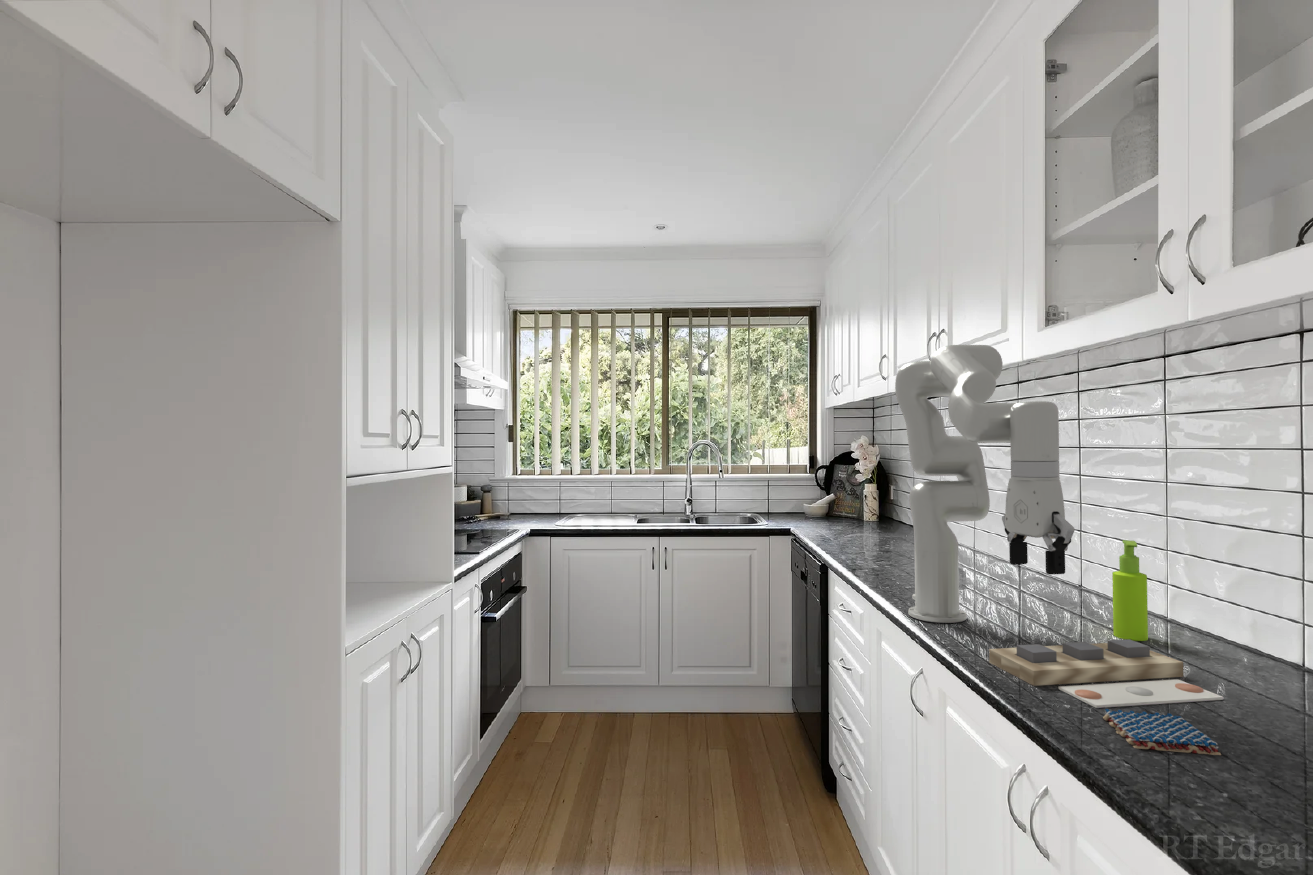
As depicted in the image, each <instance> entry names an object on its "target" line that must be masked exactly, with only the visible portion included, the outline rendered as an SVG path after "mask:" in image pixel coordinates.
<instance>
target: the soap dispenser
mask: <svg viewBox="0 0 1313 875" xmlns="http://www.w3.org/2000/svg"><path fill="white" fill-rule="evenodd" d="M1122 543H1123V554H1122V555H1119V558H1118V559H1119V561H1118V562H1119V563H1118V564H1119V566H1118V567H1119V570H1117V571H1113V572H1112V575H1111V576H1112V623H1113V624H1112V626H1113V627H1112V628H1113V629H1112V631H1113V636H1114V637H1115V638H1118V639H1120V640H1126V639H1130V640H1133V641H1135V642H1145V641H1148V639H1149V621H1148V620H1149V618H1148V617H1149V615H1148V614H1149V613H1148V610H1149V609H1148V575H1147V574H1145V573H1144V572H1143V573H1142V572H1140V557H1139V556H1137V555H1135V548H1138V543H1137V542H1136V541H1135V540H1126V539H1124V540H1123V539H1122Z"/></svg>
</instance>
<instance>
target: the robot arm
mask: <svg viewBox="0 0 1313 875" xmlns="http://www.w3.org/2000/svg"><path fill="white" fill-rule="evenodd" d="M1003 366H1004V365H1003V358H1002V356H1001V353H1000V352H999V351H998V350H997V349H996V348H995V347H993V346H991V345H988V344H987V345H986V344H950V345H945V346H942V347H940V348H938V349H937V350H936V351H935V352H934V353H933V354H932V356H931V357H930V360H926V361H925V360H924V361H923V360H922V361H912V362H908V363H906V364H904V365H902V366H901V367H900V368H898V371H897V373H896V376H895V382H894V384H895V385H894V386H895V387H894V391H895V396H896V400H897V402H898V403H897V404H898V406H899V408H900V411H901V413H902V415H903V418H904V422H905V426H906V427H905V428H906V434H907V435H906V437H907V441H908V442H907V444H908V449H909V450H908V451H909V458H910V463H911V467H912V470H913V472H915V473H916V474H917V475H919V476H924V477H956V479H957V480H929V481H928V480H927V481H922V482H919V483H916V484H915V485H914V486H913V487H912V488H911V489H910V490H909V491H910V492H909V494H908V502H909V508H910V512H911V518H912V525H913V527H912V528H913V546H914V553H913V554H914V593H913V594H912V595H911V598H912V600H914V601H915V602H914V606H911V607H909V608H908V610H907V611H908V612H907V613H908V615H909V616H910V617H912V618H914V619H916V620H920V621H924V622H930V623H938V624H952V623H953V624H954V623H961V622H964V621H966V620H967V619H968V615H967V612H965V611H963V610H962V609H960V571H959V568H960V567H959V564H960V563H959V541H958V538H957V536H956V535H955V533H954V531H953V530H952V529H951V527H950V526H949V525H948V524H949V523H952V522H958V523H959V522H977V521H981V520H983V519H985V518H986V517H987V516H988V514H989V510H990V506H991V505H990V504H991V500H990V492H989V485H988V480H987V473H986V467H985V462H984V456H983V452H982V449H981V446H980V444H997V443H999V444H1001V443H1004V444H1010V478H1009V479H1008V482H1007V488H1006V489H1007V490H1006V494H1005V495H1006V497H1005V508H1004V509H1005V513H1004V514H1003V516H1001V521H1002V523H1003V527H1004V532H1005V534H1006V536H1007V537H1006V539H1007V542H1008V543H1009V546H1008V548H1009V564H1010V565H1013V566H1014V565H1015V566H1017V565H1027V564H1028V563H1029V562H1028V558H1029V557H1028V541H1025V540H1026V539H1027V537H1030V538H1035V539H1037V538H1042V539H1043V541H1044V543H1045V545H1046V547H1047V549H1046V550H1045V554H1044V555H1045V574H1047V575H1064V574H1065V573H1066V551H1068V548H1069V547H1068V546H1069V545H1070V544H1071V542H1072V538H1073V536H1074V532H1075V531H1076V530H1075V527H1074V526H1073V525H1072V524H1071V523H1070V522H1069V521H1068V520H1067V519H1066V514H1065V513H1066V511H1065V502H1064V501H1065V500H1064V494H1063V493H1064V492H1063V488H1062V483H1061V480H1060V479H1061V478H1060V475H1061V474H1060V433H1059V432H1060V430H1059V429H1060V426H1059V424H1060V423H1059V422H1060V421H1059V420H1060V419H1059V415H1060V414H1059V408H1058V405H1057V404H1056V403H1054V402H1052V401H1045V400H1043V401H1042V400H1039V401H1038V400H1037V401H1021V402H1011V403H1010V402H987V401H988V400H989V399H991V397H992V396H993V395H994V393H995V391H996V387H997V382H996V381H997V379H998V378H999V377H1000V375H1001V373H1002V371H1003ZM931 397H933V398H935V397H936V398H941V397H943V398H944V397H945V398H946V397H948V404H947V406H948V408H947V409H948V410H947V411H948V417H949V420H950V422H951V424H952V425H953V427H954V428H955V429H956V430H957V432H958V433H960V435H948V434H947V432H946V428H945V420H944V418H943V415H942V414H941V412H940V410H939V409H938V408H937V407H936V405H934V404H933V403H932V402H931V401H930V400H929V399H928V398H931ZM1053 539H1055V540H1053Z"/></svg>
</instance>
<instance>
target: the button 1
mask: <svg viewBox="0 0 1313 875" xmlns="http://www.w3.org/2000/svg"><path fill="white" fill-rule="evenodd" d="M1045 646H1046V645H1042V644H1040V643H1036V644H1033V643H1032V644H1016V648H1017V656H1019V657H1021V658H1023V659H1025V660H1027V661H1029V662H1031V663H1046V662H1057V653H1056V651H1054V650H1052V649H1049V648H1047V647H1045Z"/></svg>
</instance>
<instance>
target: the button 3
mask: <svg viewBox="0 0 1313 875" xmlns="http://www.w3.org/2000/svg"><path fill="white" fill-rule="evenodd" d="M1107 643H1108V651H1110V652H1113V653H1116V654H1118V655H1121V656H1123V657H1126V658H1135V657H1150V650H1151V649H1150V648H1151V647H1150V645H1147V644H1145V643H1140V642H1139V641H1133V640H1130V639H1126V640H1125V639H1109V640H1107Z"/></svg>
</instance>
